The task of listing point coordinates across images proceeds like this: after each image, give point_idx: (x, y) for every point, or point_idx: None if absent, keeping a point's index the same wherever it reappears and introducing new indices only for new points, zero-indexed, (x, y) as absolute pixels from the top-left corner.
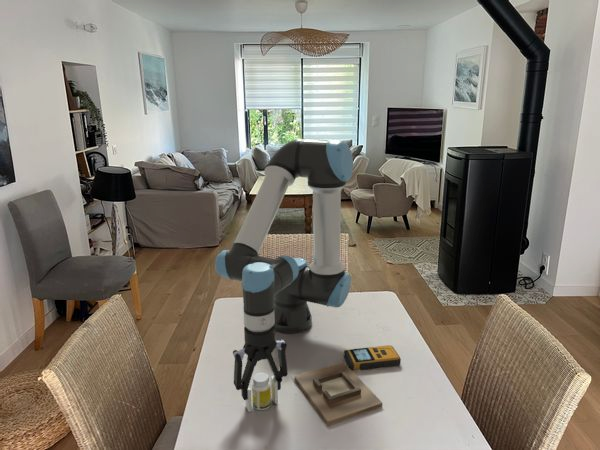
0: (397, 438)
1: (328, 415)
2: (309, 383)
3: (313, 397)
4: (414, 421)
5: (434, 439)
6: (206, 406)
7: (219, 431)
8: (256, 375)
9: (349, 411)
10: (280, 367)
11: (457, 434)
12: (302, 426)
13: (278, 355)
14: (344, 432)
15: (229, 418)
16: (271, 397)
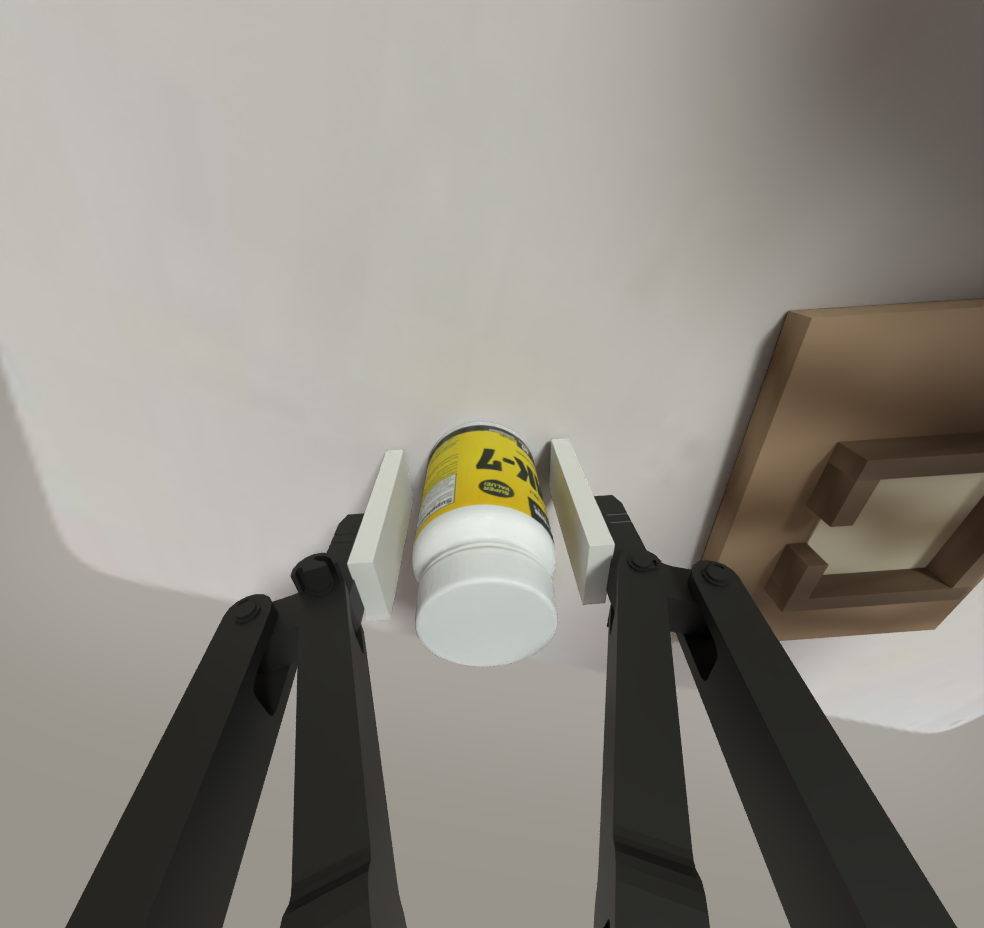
0: None
1: None
2: (821, 435)
3: (742, 537)
4: (913, 671)
5: (876, 713)
6: (119, 366)
7: (245, 554)
8: (453, 606)
9: (793, 631)
10: (711, 625)
11: (937, 714)
12: (593, 612)
13: (798, 804)
14: None
15: (290, 500)
16: (551, 440)
